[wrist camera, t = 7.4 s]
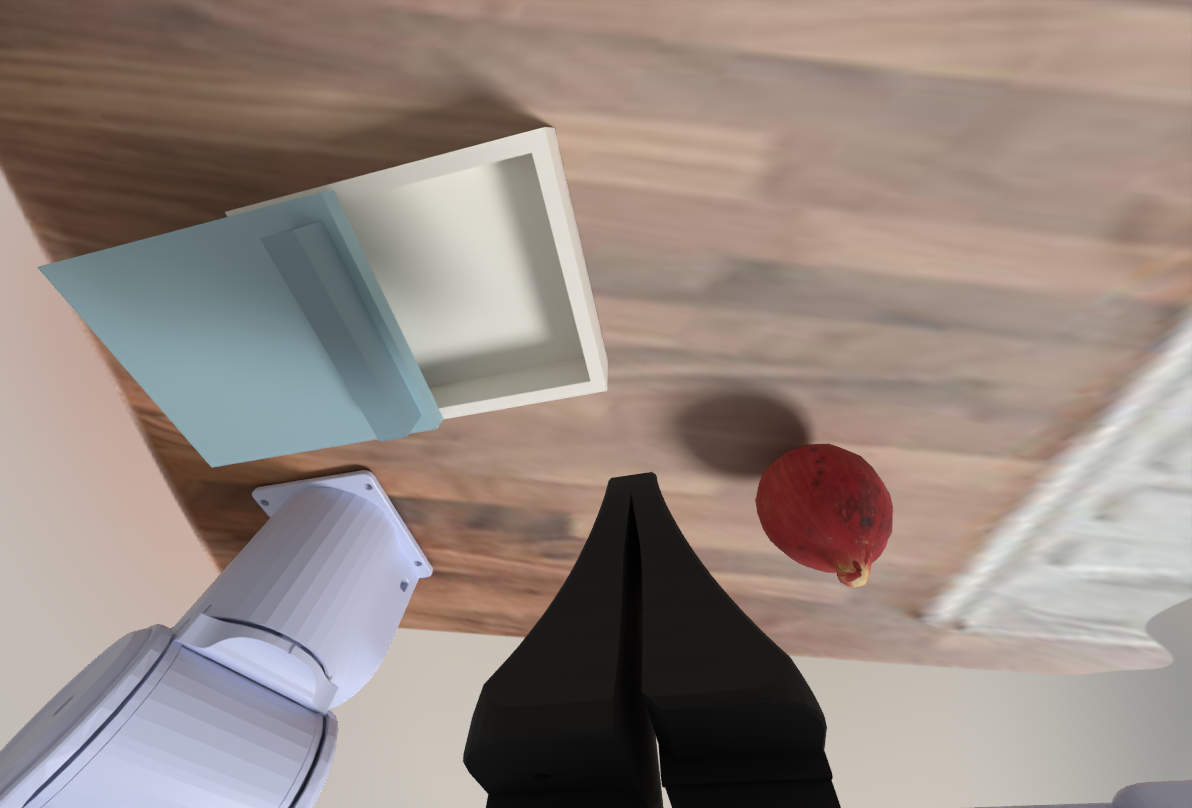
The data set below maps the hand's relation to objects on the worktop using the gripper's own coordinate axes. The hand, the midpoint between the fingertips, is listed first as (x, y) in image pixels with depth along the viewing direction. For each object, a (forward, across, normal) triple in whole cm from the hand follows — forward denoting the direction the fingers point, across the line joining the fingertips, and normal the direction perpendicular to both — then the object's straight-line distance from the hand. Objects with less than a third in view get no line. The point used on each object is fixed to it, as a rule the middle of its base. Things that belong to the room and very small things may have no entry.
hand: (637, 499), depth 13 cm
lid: (+7, +14, -5) cm, 17 cm away
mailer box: (+10, +7, -5) cm, 13 cm away
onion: (+10, -8, +8) cm, 15 cm away
